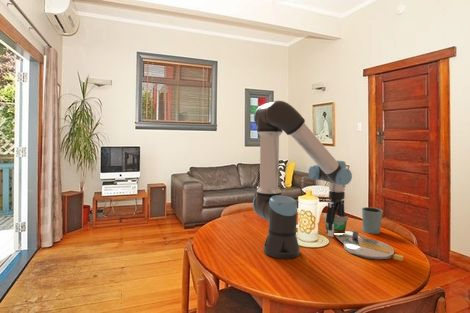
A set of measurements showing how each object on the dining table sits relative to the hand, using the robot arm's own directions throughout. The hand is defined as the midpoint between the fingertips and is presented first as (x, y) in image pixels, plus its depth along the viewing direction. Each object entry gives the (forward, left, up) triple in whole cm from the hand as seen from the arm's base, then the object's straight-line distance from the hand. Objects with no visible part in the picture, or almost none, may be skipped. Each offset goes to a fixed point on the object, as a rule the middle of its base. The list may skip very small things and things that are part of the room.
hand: (335, 234), depth 149 cm
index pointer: (+32, -10, 0) cm, 34 cm away
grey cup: (+11, +20, 0) cm, 23 cm away
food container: (0, 0, 0) cm, 1 cm away
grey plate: (+20, -10, 0) cm, 22 cm away
